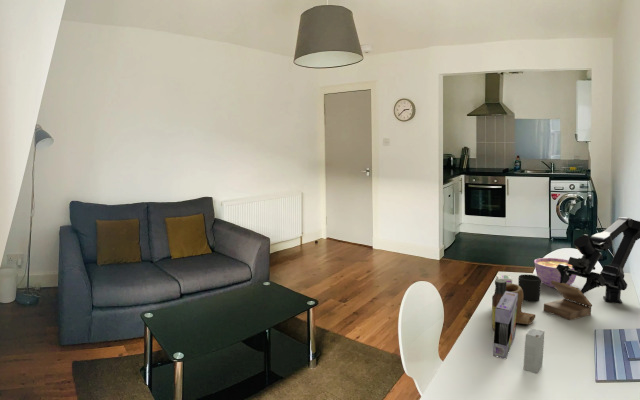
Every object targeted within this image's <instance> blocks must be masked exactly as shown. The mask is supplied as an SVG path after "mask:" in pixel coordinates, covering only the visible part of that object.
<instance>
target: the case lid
mask: <svg viewBox="0 0 640 400" xmlns="http://www.w3.org/2000/svg"><path fill="white" fill-rule="evenodd" d="M551 283H552V284H553V286H554V287H555V288H554V289H556V290H557V292H558V293H559V294H560V295H561V297H563V299H567V300H570V301H573V302H576V303H579V304H582V305H585V306H588V307H591V308H592V307H593V304H592V303H591V302H590V300H588V298H587V297H586V296H585V295H584V294H585V293H584V294H583V293H582V292H581V289H580V288H579V287H575V286H572V285H568V284H565V283H559V282H556V281H551Z"/></svg>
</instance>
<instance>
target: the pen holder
mask: <svg viewBox="0 0 640 400" xmlns="http://www.w3.org/2000/svg"><path fill="white" fill-rule="evenodd" d="M517 285H519V286H520V287H521V288H522V290H523V302H524V301H525V302H531V303H533V302H539V301H540V298H541V297H540V296H541V288H542V287H541V286H542V282H541V279H540V278H539V277H538V276H537V275H534V274H520V275H518V284H517Z"/></svg>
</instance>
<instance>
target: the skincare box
mask: <svg viewBox="0 0 640 400" xmlns="http://www.w3.org/2000/svg"><path fill="white" fill-rule="evenodd" d="M524 339H525V341H524V353H523V355H524V356H523V371H526V372H528V373H529V372H530V373H533V374H538V373H539V371H540V370H541V368H543V361H544V360H543V358H544V348H545V347H544V345H545V331H544V330H541V329H536V328H529V330H528V331H527V332H526V334H525V338H524Z"/></svg>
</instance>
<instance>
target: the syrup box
mask: <svg viewBox="0 0 640 400" xmlns="http://www.w3.org/2000/svg"><path fill="white" fill-rule="evenodd" d="M499 279H501V280H505V281H506V283H507V284H513V279H512V277H511V276H510V275H506V274H498V275H496V276H495V280H499Z"/></svg>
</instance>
